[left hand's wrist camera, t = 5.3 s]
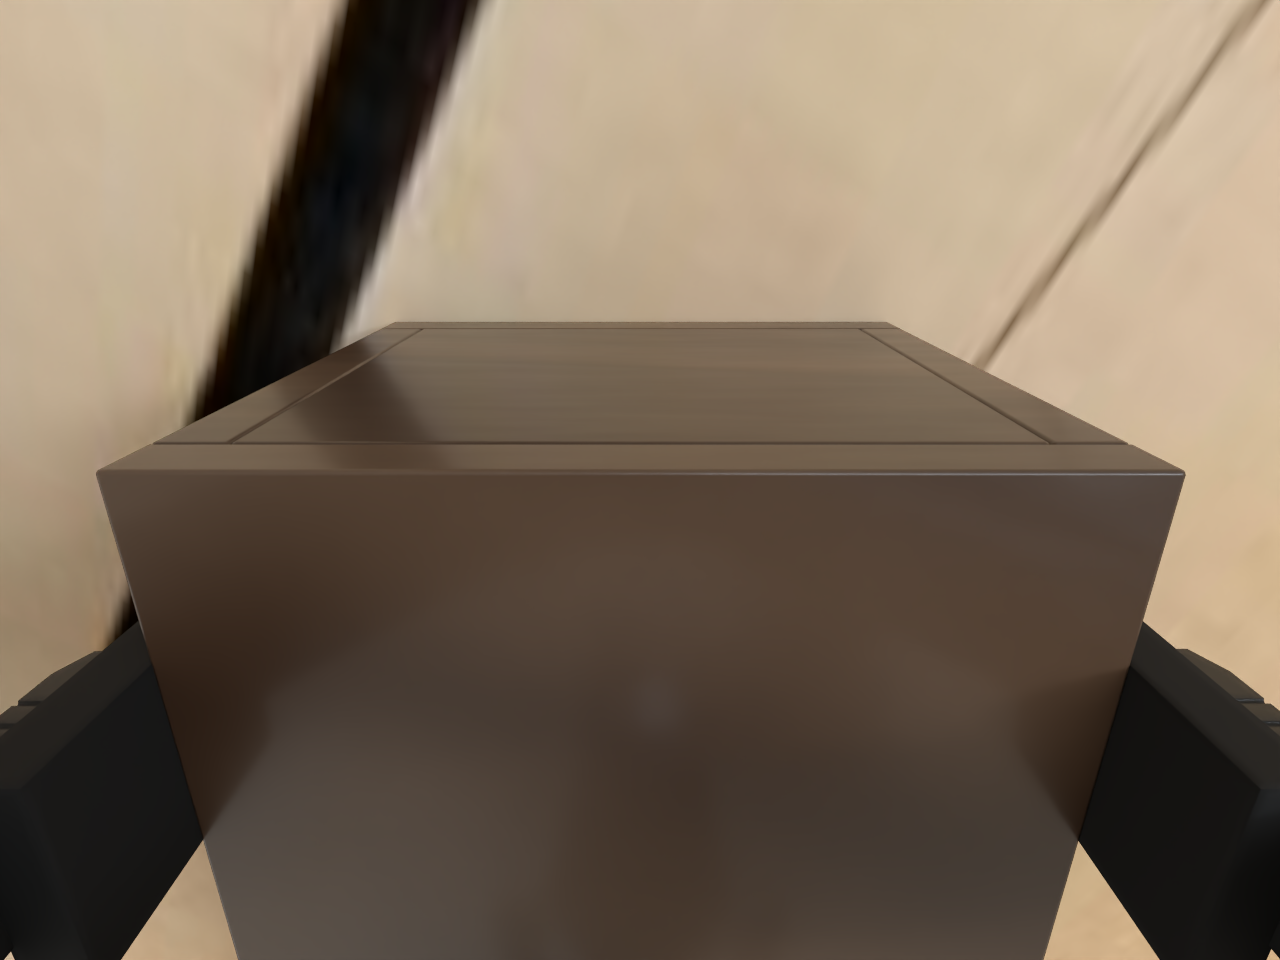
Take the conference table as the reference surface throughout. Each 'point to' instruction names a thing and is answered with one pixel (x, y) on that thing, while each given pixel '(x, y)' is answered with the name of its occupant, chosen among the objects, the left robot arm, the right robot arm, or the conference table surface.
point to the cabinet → (640, 643)
